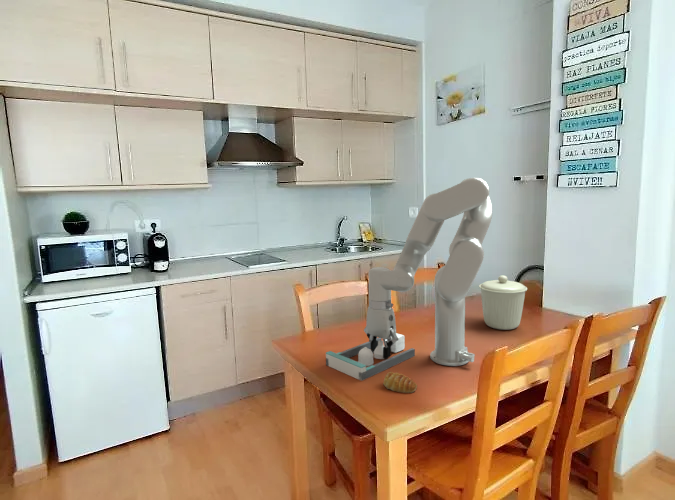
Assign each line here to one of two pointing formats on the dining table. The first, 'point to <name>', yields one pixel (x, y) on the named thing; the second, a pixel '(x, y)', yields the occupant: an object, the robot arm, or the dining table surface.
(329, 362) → the rail guide
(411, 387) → the pastry
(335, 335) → the dining table surface
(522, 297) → the canister
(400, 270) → the robot arm
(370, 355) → the container set
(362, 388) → the dining table surface
